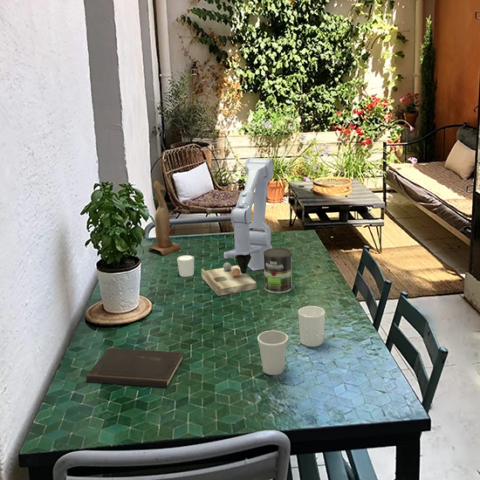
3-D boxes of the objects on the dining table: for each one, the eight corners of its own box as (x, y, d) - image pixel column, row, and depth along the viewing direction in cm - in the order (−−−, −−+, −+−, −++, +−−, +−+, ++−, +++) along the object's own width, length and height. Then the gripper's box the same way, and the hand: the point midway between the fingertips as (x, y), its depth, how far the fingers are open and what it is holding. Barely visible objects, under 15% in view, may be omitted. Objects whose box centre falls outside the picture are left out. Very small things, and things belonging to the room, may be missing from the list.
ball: (238, 274, 224) (238, 266, 223) (241, 277, 221) (241, 269, 220) (231, 275, 223) (230, 267, 222) (233, 278, 220) (233, 270, 219)
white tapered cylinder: (194, 277, 230) (193, 260, 228) (177, 277, 230) (175, 261, 228) (195, 270, 236) (194, 254, 234) (179, 271, 237) (177, 255, 234)
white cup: (327, 337, 178) (327, 307, 175) (322, 349, 171) (322, 318, 168) (301, 334, 181) (301, 304, 178) (295, 346, 174) (295, 315, 171)
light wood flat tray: (237, 271, 234) (237, 263, 233) (256, 288, 216) (256, 279, 215) (201, 277, 229) (201, 269, 228) (218, 295, 211) (217, 286, 210)
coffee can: (287, 295, 210) (286, 258, 205) (260, 291, 213) (259, 255, 209) (295, 284, 219) (295, 249, 214) (269, 281, 222) (268, 246, 218)
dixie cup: (279, 380, 156) (279, 347, 153) (252, 372, 160) (251, 340, 157) (293, 366, 163) (293, 334, 160) (267, 359, 167) (266, 327, 164)
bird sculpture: (182, 250, 263) (178, 179, 254) (162, 256, 255) (158, 184, 246) (165, 245, 270) (161, 177, 261) (146, 251, 262) (141, 181, 253)
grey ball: (229, 268, 230) (229, 260, 229) (232, 271, 228) (232, 263, 227) (222, 269, 229) (221, 262, 228) (224, 272, 227) (224, 264, 226)
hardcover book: (109, 354, 174) (109, 347, 174) (184, 359, 170) (183, 352, 169) (86, 383, 159) (85, 376, 159) (167, 389, 155) (166, 382, 154)
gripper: (227, 244, 213) (229, 279, 217) (264, 239, 217) (265, 273, 222) (221, 239, 219) (222, 273, 223) (256, 234, 224) (257, 267, 228)
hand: (243, 272), depth 223 cm, fingers closed
